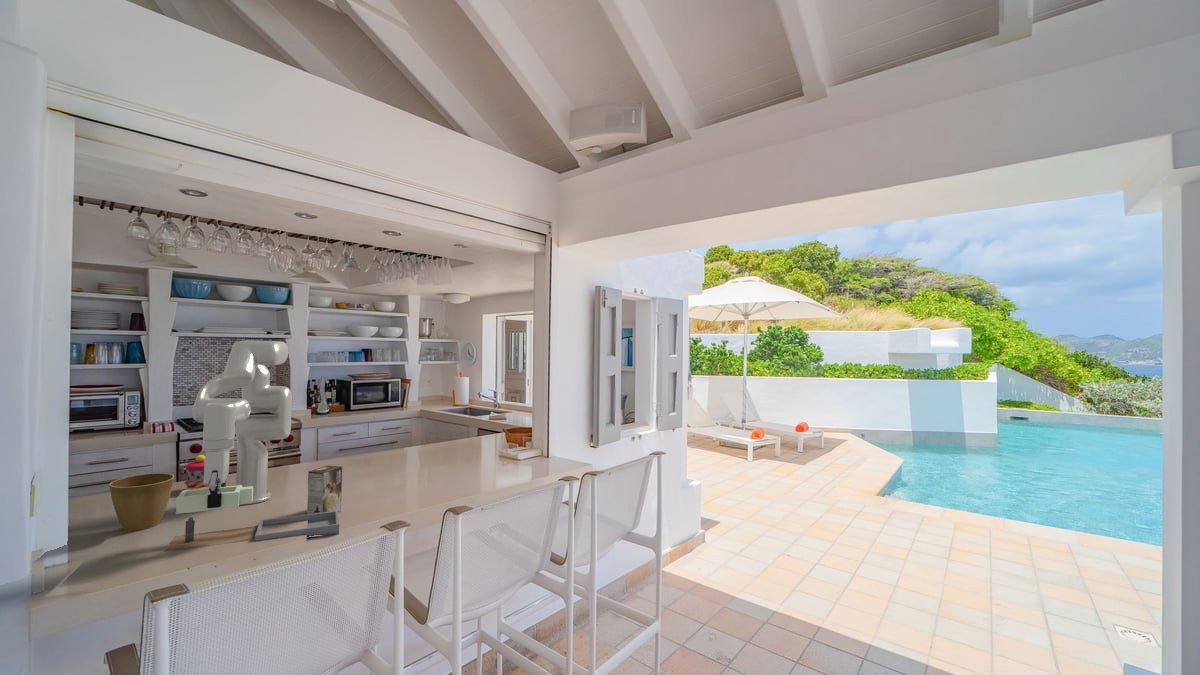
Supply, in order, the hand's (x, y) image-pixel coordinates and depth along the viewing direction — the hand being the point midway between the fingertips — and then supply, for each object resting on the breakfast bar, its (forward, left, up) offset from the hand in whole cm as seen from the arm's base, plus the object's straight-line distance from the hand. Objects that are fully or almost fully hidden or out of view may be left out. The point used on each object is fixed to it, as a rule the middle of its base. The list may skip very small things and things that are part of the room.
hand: (216, 502), depth 148 cm
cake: (-62, -14, -12) cm, 64 cm away
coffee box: (-14, +28, -12) cm, 34 cm away
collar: (0, 0, -1) cm, 1 cm away
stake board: (0, -1, -12) cm, 12 cm away
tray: (0, +21, -12) cm, 24 cm away
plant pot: (-20, -22, -12) cm, 32 cm away
